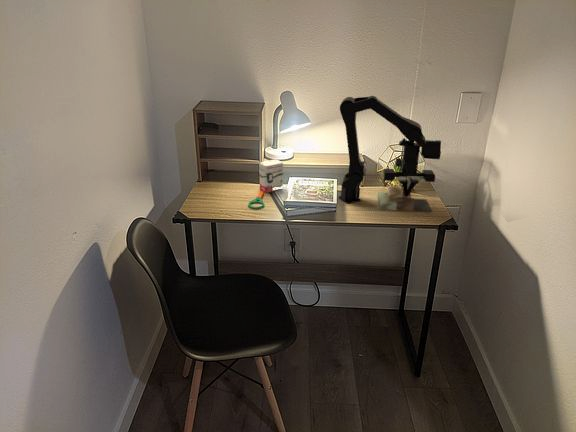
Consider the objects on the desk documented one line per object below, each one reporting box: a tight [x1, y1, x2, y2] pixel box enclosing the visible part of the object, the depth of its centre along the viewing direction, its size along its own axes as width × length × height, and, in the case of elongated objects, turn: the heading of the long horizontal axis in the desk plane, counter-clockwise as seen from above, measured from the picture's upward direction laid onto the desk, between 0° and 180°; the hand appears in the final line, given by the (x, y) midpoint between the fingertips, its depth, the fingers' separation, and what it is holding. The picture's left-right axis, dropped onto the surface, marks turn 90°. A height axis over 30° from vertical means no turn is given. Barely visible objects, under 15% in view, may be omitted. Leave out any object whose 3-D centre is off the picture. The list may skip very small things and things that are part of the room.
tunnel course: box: [376, 187, 432, 213], centre depth 189 cm, size 19×11×4 cm, turn 86°
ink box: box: [258, 158, 284, 194], centre depth 200 cm, size 8×5×12 cm, turn 123°
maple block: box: [386, 185, 403, 201], centre depth 188 cm, size 5×5×4 cm
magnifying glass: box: [247, 190, 265, 210], centre depth 191 cm, size 15×6×2 cm, turn 173°
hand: (406, 196), depth 188 cm, fingers closed
